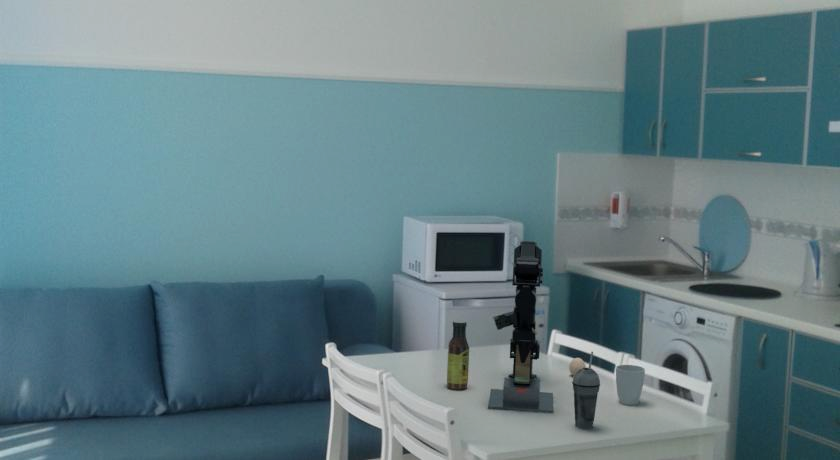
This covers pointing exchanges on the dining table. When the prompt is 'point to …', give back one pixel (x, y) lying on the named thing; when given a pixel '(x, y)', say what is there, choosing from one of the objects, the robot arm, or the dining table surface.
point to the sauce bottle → (458, 357)
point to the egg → (576, 365)
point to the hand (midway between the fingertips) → (523, 358)
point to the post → (522, 369)
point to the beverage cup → (585, 396)
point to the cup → (629, 383)
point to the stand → (521, 397)
